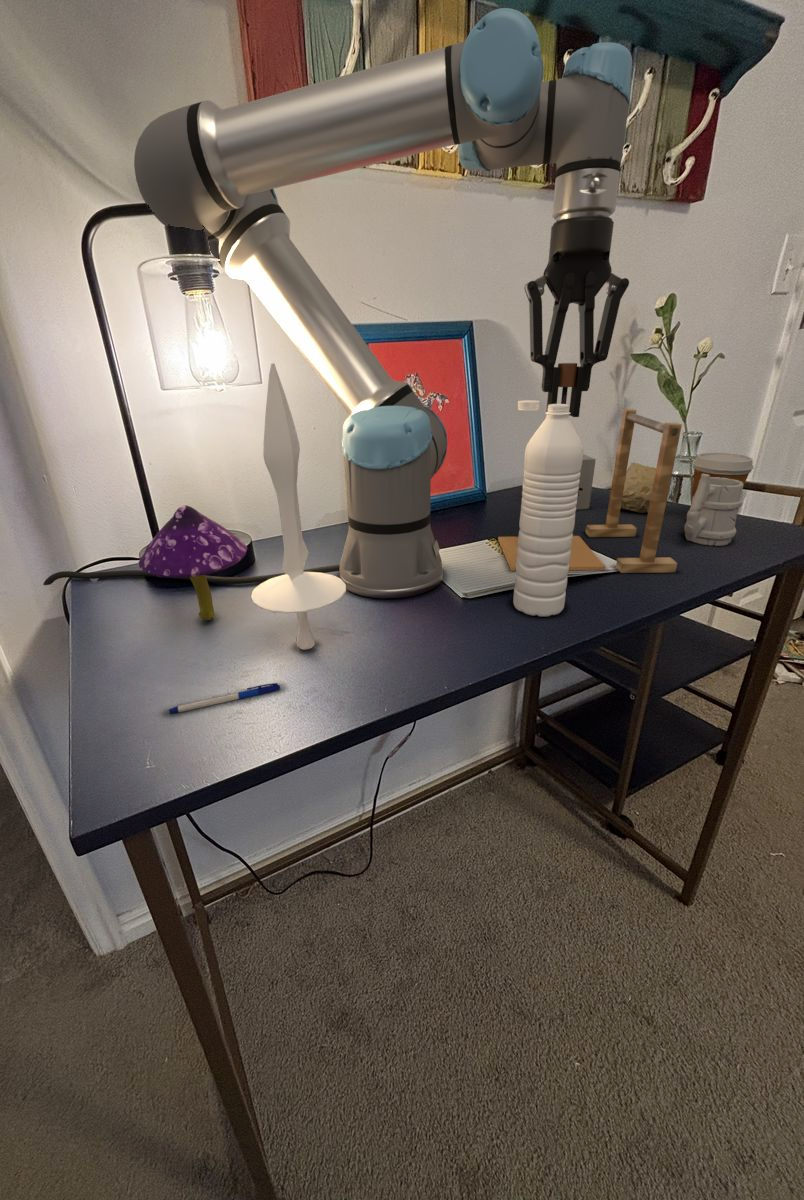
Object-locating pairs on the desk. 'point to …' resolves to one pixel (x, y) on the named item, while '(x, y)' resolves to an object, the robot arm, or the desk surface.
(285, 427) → the sculpture
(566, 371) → the orange cylinder on rod
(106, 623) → the desk surface
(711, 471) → the disposable coffee cup
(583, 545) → the cork mat
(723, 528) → the mug
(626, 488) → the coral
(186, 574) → the decorative mushroom
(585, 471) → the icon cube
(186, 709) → the ballpoint pen
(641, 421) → the rail stand
